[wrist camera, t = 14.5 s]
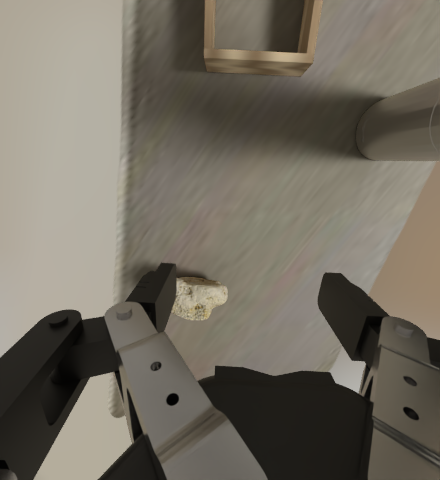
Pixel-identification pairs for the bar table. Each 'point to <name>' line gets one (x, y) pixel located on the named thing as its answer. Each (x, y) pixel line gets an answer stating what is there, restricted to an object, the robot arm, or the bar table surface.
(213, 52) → the u-shaped pine frame
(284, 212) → the bar table surface
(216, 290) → the decorative item
